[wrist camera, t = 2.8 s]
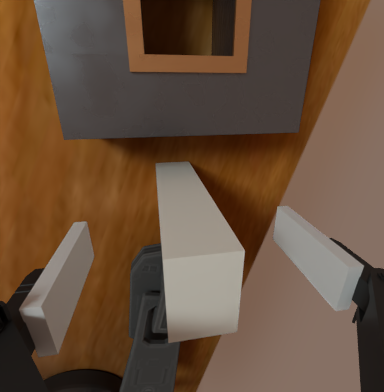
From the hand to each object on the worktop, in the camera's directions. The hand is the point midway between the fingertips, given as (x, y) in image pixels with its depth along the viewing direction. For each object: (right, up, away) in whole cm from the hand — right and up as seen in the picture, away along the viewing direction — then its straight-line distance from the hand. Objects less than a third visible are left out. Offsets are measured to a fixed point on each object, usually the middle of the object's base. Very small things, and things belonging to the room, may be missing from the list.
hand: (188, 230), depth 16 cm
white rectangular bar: (-2, +4, +9) cm, 10 cm away
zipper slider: (-5, -15, +17) cm, 23 cm away
